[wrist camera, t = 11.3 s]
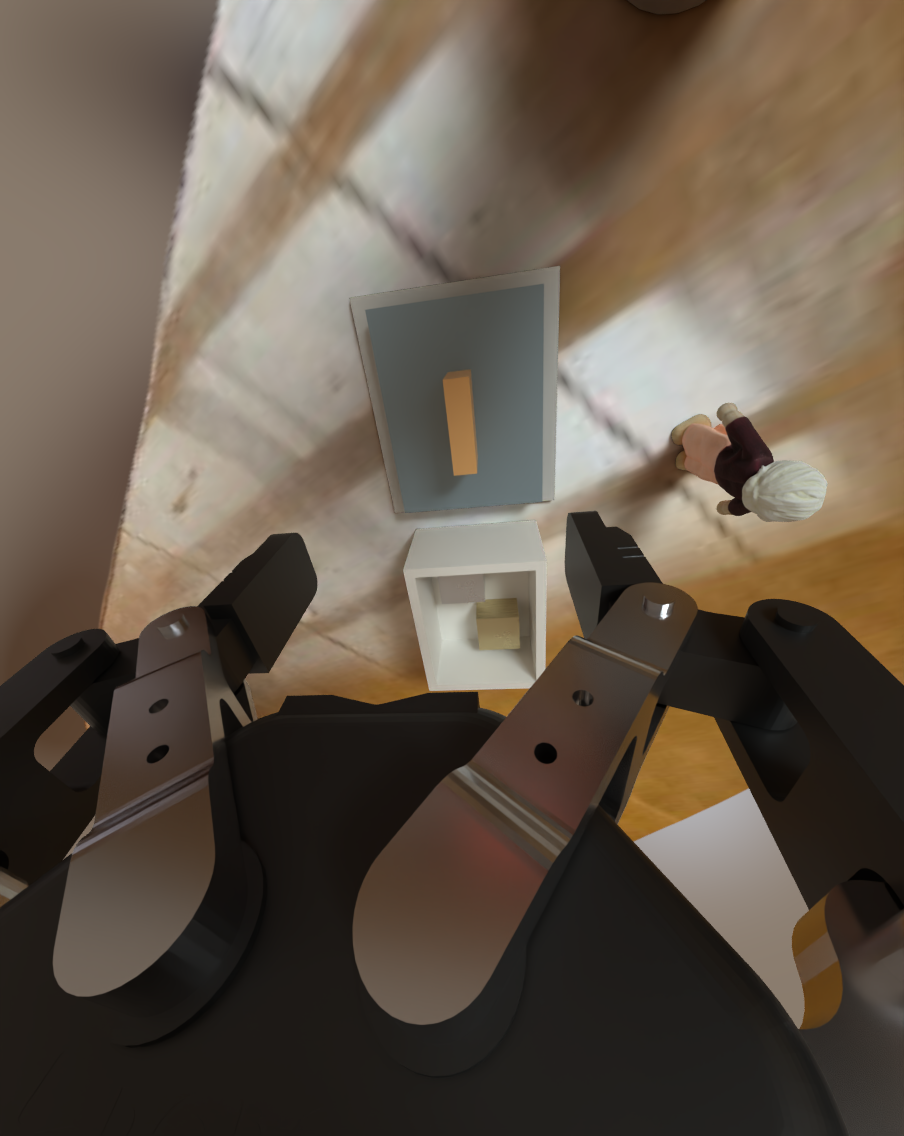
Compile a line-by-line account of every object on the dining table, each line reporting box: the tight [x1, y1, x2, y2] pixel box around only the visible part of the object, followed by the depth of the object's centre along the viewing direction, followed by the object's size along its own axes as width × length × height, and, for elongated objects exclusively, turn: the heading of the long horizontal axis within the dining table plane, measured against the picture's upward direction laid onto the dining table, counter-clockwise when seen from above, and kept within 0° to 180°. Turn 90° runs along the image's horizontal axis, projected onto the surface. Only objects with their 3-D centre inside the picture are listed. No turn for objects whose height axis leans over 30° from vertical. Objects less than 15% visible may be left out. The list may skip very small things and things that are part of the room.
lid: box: [365, 284, 544, 513], centre depth 27 cm, size 14×11×6 cm
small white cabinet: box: [403, 520, 547, 691], centre depth 36 cm, size 14×11×7 cm
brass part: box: [476, 598, 520, 650], centre depth 39 cm, size 4×4×3 cm
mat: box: [349, 266, 560, 513], centre depth 30 cm, size 16×14×1 cm
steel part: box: [437, 574, 485, 604], centre depth 36 cm, size 4×4×3 cm
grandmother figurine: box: [672, 403, 827, 522], centre depth 25 cm, size 8×4×13 cm, turn 32°
